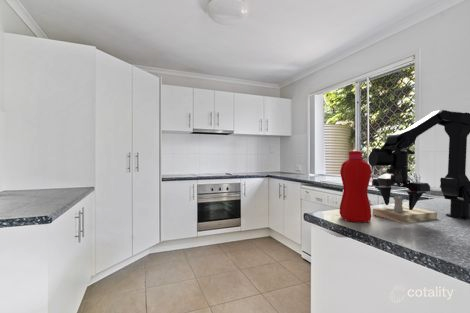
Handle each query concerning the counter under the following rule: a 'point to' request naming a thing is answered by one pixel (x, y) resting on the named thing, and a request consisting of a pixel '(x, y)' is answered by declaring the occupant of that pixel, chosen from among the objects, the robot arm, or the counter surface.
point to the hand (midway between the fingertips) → (398, 207)
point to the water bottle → (355, 189)
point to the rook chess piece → (398, 204)
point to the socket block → (405, 214)
